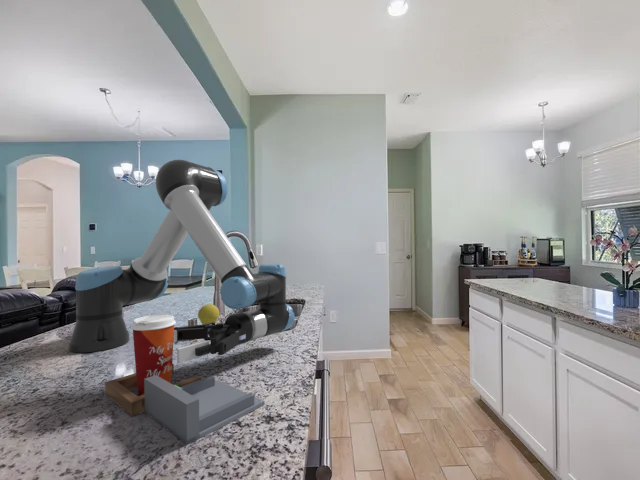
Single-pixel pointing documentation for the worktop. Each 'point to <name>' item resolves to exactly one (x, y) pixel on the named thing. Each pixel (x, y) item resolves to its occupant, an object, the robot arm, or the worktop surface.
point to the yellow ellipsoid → (208, 314)
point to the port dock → (195, 406)
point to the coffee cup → (153, 347)
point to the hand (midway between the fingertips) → (161, 349)
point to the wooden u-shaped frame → (129, 400)
